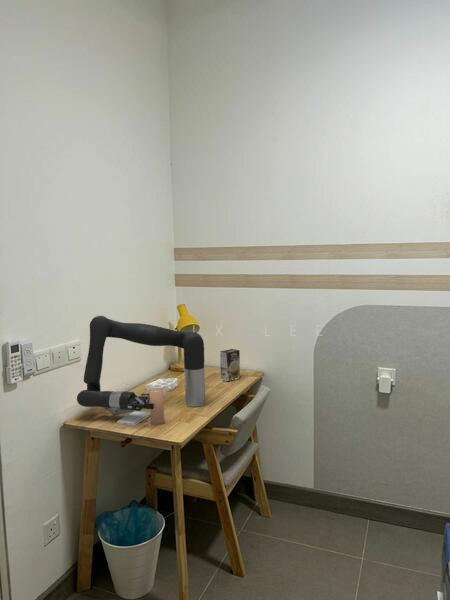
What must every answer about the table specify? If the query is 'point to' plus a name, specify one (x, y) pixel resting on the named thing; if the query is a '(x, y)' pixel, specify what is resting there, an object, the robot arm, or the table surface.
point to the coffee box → (230, 364)
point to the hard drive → (133, 418)
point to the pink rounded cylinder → (157, 406)
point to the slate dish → (118, 411)
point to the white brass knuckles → (163, 384)
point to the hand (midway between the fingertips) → (157, 402)
